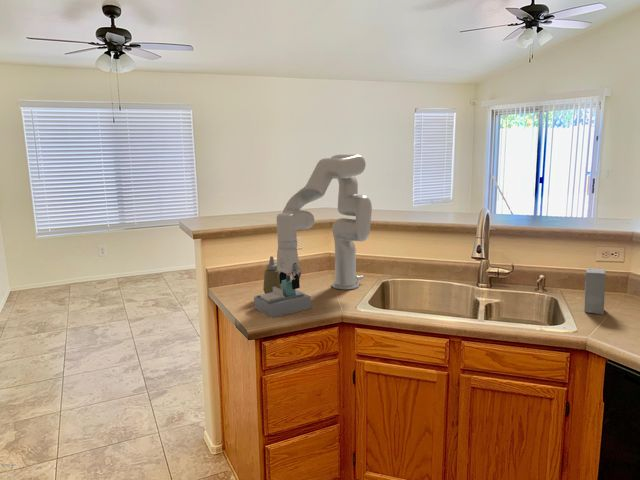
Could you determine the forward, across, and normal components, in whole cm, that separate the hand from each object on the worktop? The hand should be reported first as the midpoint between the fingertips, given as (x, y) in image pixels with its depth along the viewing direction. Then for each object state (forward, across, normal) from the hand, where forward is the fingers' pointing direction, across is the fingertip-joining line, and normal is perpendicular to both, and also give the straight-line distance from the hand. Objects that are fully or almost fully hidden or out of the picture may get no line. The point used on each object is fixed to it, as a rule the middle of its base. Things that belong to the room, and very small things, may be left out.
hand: (289, 285), depth 187 cm
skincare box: (+11, +75, +90) cm, 118 cm away
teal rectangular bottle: (+8, 0, -1) cm, 8 cm away
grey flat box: (+9, 0, -4) cm, 9 cm away
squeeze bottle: (+9, -15, 0) cm, 17 cm away
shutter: (+3, 0, -8) cm, 9 cm away
